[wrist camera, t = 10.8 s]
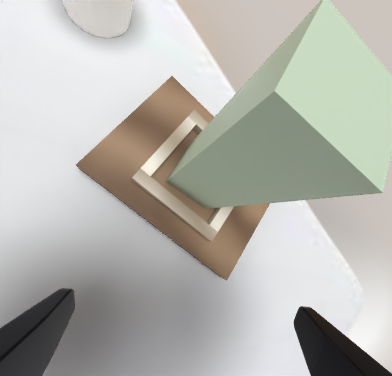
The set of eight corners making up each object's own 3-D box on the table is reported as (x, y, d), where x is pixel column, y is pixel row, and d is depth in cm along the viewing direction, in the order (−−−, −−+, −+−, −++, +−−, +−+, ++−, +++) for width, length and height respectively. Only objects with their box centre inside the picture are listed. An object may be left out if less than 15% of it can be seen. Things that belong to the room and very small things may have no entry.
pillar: (206, 208, 18) (383, 193, 6) (165, 181, 17) (274, 90, 5) (226, 170, 19) (404, 91, 7) (190, 143, 18) (325, -4, 6)
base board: (220, 276, 18) (232, 284, 16) (79, 168, 15) (72, 161, 13) (273, 184, 22) (288, 181, 20) (169, 84, 19) (174, 68, 17)
